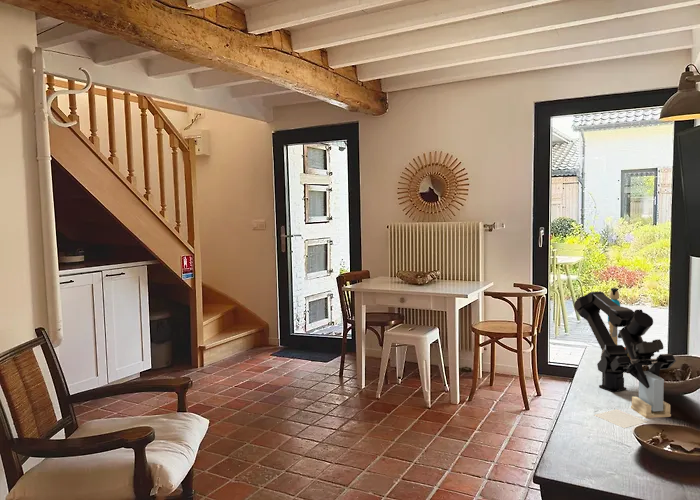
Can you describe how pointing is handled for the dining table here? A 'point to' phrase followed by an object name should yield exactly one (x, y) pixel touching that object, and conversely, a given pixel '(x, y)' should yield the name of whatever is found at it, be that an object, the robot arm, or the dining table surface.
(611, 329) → the figurine
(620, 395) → the dining table surface
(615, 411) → the mat
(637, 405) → the rack
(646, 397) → the pale grey upright block
